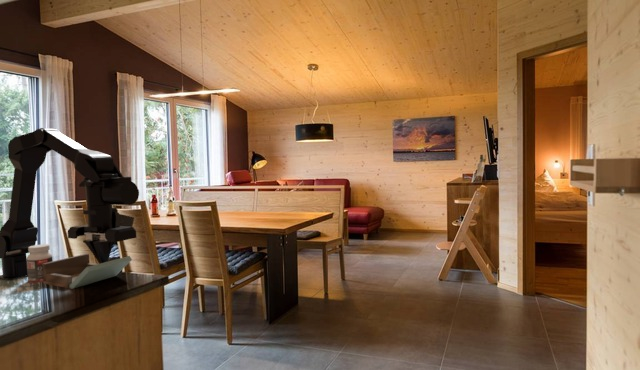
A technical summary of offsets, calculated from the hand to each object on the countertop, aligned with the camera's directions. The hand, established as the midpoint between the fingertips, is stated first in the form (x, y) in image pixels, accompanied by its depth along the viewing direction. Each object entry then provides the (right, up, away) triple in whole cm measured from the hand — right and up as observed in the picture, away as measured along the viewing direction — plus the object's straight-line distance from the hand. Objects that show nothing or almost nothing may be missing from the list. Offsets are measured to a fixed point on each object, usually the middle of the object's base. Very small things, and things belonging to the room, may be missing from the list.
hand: (104, 266), depth 108 cm
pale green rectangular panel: (-4, -4, +2) cm, 6 cm away
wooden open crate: (-9, -5, +5) cm, 12 cm away
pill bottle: (-20, -6, +6) cm, 21 cm away
